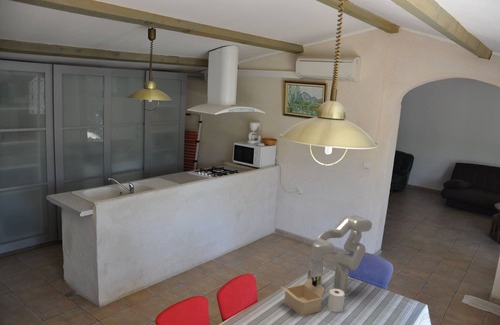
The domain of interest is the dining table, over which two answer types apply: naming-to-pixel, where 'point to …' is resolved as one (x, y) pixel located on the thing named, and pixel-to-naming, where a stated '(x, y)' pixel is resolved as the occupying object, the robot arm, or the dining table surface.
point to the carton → (303, 300)
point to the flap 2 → (315, 287)
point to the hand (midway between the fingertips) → (314, 285)
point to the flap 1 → (290, 294)
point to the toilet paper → (336, 300)
